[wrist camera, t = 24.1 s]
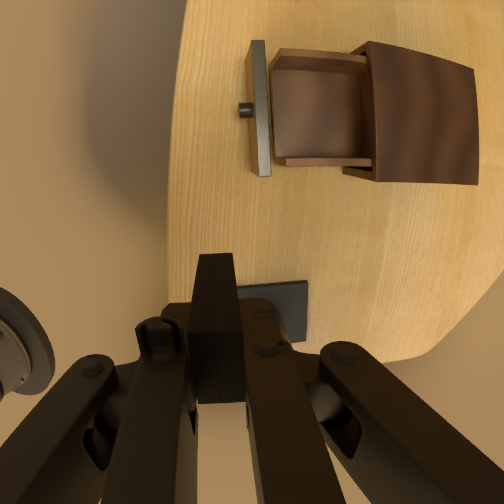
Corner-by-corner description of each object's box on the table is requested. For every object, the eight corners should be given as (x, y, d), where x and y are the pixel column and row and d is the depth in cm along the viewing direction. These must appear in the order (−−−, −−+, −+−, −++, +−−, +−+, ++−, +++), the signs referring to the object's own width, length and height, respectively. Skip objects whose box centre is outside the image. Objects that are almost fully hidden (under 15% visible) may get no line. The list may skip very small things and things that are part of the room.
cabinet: (342, 173, 36) (376, 182, 28) (337, 60, 32) (368, 40, 23) (436, 176, 37) (478, 185, 29) (432, 77, 33) (473, 68, 25)
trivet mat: (211, 347, 42) (211, 350, 41) (204, 288, 39) (204, 291, 38) (304, 338, 43) (306, 341, 42) (306, 280, 40) (308, 282, 39)
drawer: (239, 172, 34) (244, 177, 28) (234, 60, 30) (238, 39, 23) (363, 169, 35) (392, 175, 29) (358, 65, 31) (385, 51, 25)
